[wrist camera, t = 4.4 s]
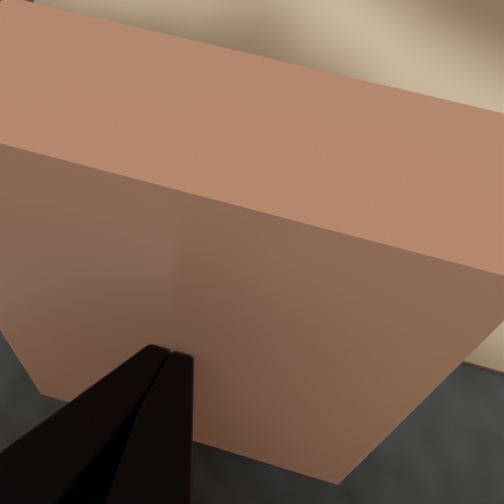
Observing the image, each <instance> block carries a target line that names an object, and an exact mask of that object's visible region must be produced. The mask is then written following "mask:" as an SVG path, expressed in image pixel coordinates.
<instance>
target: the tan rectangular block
mask: <svg viewBox="0 0 504 504" xmlns="http://www.w3.org/2000/svg"><path fill="white" fill-rule="evenodd" d="M503 321H504V113H500V112H496V111H492V110H487V109H483V108H479V107H475V106H470V105H466V104H462V103H458V102H453V101H449V100H445V99H441V98H436V97H432V96H428V95H424V94H419V93H415V92H411V91H407V90H402V89H398V88H394V87H390V86H385V85H381V84H377V83H373V82H368V81H364V80H360V79H356V78H351V77H347V76H343V75H338V74H334V73H330V72H326V71H321V70H317V69H313V68H309V67H304V66H300V65H296V64H292V63H287V62H283V61H279V60H275V59H270V58H266V57H262V56H258V55H253V54H249V53H245V52H241V51H236V50H232V49H228V48H224V47H219V46H215V45H211V44H207V43H202V42H198V41H194V40H190V39H185V38H181V37H177V36H173V35H168V34H164V33H160V32H155V31H151V30H147V29H143V28H138V27H134V26H130V25H126V24H121V23H117V22H113V21H109V20H104V19H100V18H96V17H92V16H87V15H83V14H79V13H75V12H70V11H66V10H62V9H58V8H53V7H49V6H45V5H41V4H36V3H32V2H28V1H24V0H2V1H0V330H1V332H2V334H3V335H4V337H5V338H6V340H7V341H8V343H9V345H10V346H11V348H12V349H13V351H14V352H15V354H16V356H17V357H18V359H19V360H20V362H21V363H22V365H23V367H24V368H25V370H26V371H27V373H28V374H29V376H30V378H31V379H32V381H33V382H34V384H35V386H36V387H37V389H38V390H39V392H40V393H41V394H43V395H46V396H49V397H53V398H56V399H59V400H62V401H66V402H70V401H71V400H73V399H74V398H76V397H77V396H78V395H80V394H81V393H82V392H84V391H85V390H86V389H88V388H89V387H91V386H92V385H93V384H95V383H96V382H97V381H99V380H100V379H101V378H103V377H104V376H106V375H107V374H108V373H110V372H111V371H112V370H114V369H115V368H116V367H118V366H119V365H121V364H122V363H123V362H125V361H126V360H127V359H129V358H130V357H132V356H133V355H134V354H136V353H137V352H138V351H140V350H141V349H142V348H144V347H145V346H147V345H149V344H155V345H158V346H162V347H165V348H168V349H170V350H171V352H173V351H179V352H182V353H186V354H189V355H192V356H193V357H194V402H193V441H196V442H199V443H203V444H206V445H209V446H212V447H216V448H219V449H222V450H225V451H229V452H232V453H235V454H238V455H242V456H245V457H248V458H252V459H255V460H258V461H261V462H265V463H268V464H271V465H274V466H278V467H281V468H284V469H287V470H291V471H294V472H297V473H300V474H304V475H307V476H310V477H313V478H317V479H320V480H323V481H327V482H330V483H333V484H336V485H338V484H339V483H340V482H341V481H342V480H343V479H344V478H345V477H346V476H347V475H348V474H349V473H351V472H352V471H353V470H354V469H355V468H356V467H357V466H358V465H359V464H360V463H361V462H362V461H363V460H364V459H365V458H366V457H367V456H368V455H369V454H370V453H371V452H372V451H373V450H374V449H375V448H376V447H377V446H378V445H379V444H380V443H381V442H382V441H383V440H384V439H385V438H386V437H387V436H388V435H389V434H390V433H391V432H392V431H393V430H394V429H395V428H396V427H397V426H398V425H399V424H400V423H401V422H402V421H403V420H404V419H405V418H406V417H407V416H408V415H409V414H410V413H411V412H412V411H413V410H414V409H415V408H416V407H417V406H418V405H419V404H420V403H421V402H422V401H423V400H424V399H425V398H426V397H427V396H428V395H429V394H430V393H431V392H432V391H433V390H434V389H435V388H436V387H437V386H438V385H439V384H441V383H442V382H443V381H444V380H445V379H446V378H447V377H448V376H449V375H450V374H451V373H452V372H453V371H454V370H455V369H456V368H457V367H458V366H459V365H460V364H461V363H462V362H463V361H464V360H465V359H466V358H467V357H468V356H469V355H470V354H471V353H472V352H473V351H474V350H475V349H476V348H477V347H478V346H479V345H480V344H481V343H482V342H483V341H484V340H485V339H486V338H487V337H488V336H489V335H490V334H491V333H492V332H493V331H494V330H495V329H496V328H497V327H498V326H499V325H500V324H501V323H502V322H503Z"/></svg>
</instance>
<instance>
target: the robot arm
mask: <svg viewBox="0 0 504 504" xmlns="http://www.w3.org/2000/svg"><path fill="white" fill-rule="evenodd" d="M193 402H194V357H193V356H192V355H189V354H186V353H182V352H179V351H173V352H171V350H170V349H168V348H165V347H162V346H158V345H155V344H149V345H147V346H145V347H144V348H142V349H141V350H140V351H138V352H137V353H136V354H134V355H133V356H132V357H130V358H129V359H127V360H126V361H125V362H123V363H122V364H121V365H119V366H118V367H116V368H115V369H114V370H112V371H111V372H110V373H108V374H107V375H106V376H104V377H103V378H101V379H100V380H99V381H97V382H96V383H95V384H93V385H92V386H91V387H89V388H88V389H86V390H85V391H84V392H82V393H81V394H80V395H78V396H77V397H76V398H74V399H73V400H71V401H70V402H69V403H67V404H66V405H65V406H63V407H62V408H61V409H59V410H58V411H56V412H55V413H54V414H52V415H51V416H50V417H48V418H47V419H46V420H44V421H43V422H41V423H40V424H39V425H37V426H36V427H35V428H33V429H32V430H31V431H29V432H28V433H26V434H25V435H24V436H22V437H21V438H20V439H18V440H17V441H15V442H14V443H13V444H11V445H10V446H9V447H7V448H6V449H5V450H3V451H2V452H0V504H192V456H193Z"/></svg>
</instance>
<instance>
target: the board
mask: <svg viewBox="0 0 504 504" xmlns="http://www.w3.org/2000/svg"><path fill="white" fill-rule="evenodd" d="M33 3H36V4H41V5H45V6H49V7H53V8H58V9H62V10H66V11H70V12H75V13H79V14H83V15H87V16H92V17H96V18H100V19H104V20H109V21H113V22H117V23H121V24H126V25H130V26H134V27H138V28H143V29H147V30H151V31H155V32H160V33H164V34H168V35H173V36H177V37H181V38H185V39H190V40H194V41H198V42H202V43H207V44H211V45H215V46H219V47H224V48H228V49H232V50H236V51H241V52H245V53H249V54H253V55H258V56H262V57H266V58H270V59H275V60H279V61H283V62H287V63H292V64H296V65H300V66H304V67H309V68H313V69H317V70H321V71H326V72H330V73H334V74H338V75H343V76H347V77H351V78H356V79H360V80H364V81H368V82H373V83H377V84H381V85H385V86H390V87H394V88H398V89H402V90H407V91H411V92H415V93H419V94H424V95H428V96H432V97H436V98H441V99H445V100H449V101H453V102H458V103H462V104H466V105H470V106H475V107H479V108H483V109H487V110H492V111H496V112H500V113H504V0H34V2H33ZM462 363H466V364H469V365H473V366H477V367H480V368H484V369H487V370H491V371H494V372H498V373H502V374H504V321H503V322H502V323H501V324H500V325H499V326H498V327H497V328H496V329H495V330H494V331H493V332H492V333H491V334H490V335H489V336H488V337H487V338H486V339H485V340H484V341H483V342H482V343H481V344H480V345H479V346H478V347H477V348H476V349H475V350H474V351H473V352H472V353H471V354H470V355H469V356H468V357H467V358H466V359H465V360H464V361H463V362H462Z"/></svg>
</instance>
